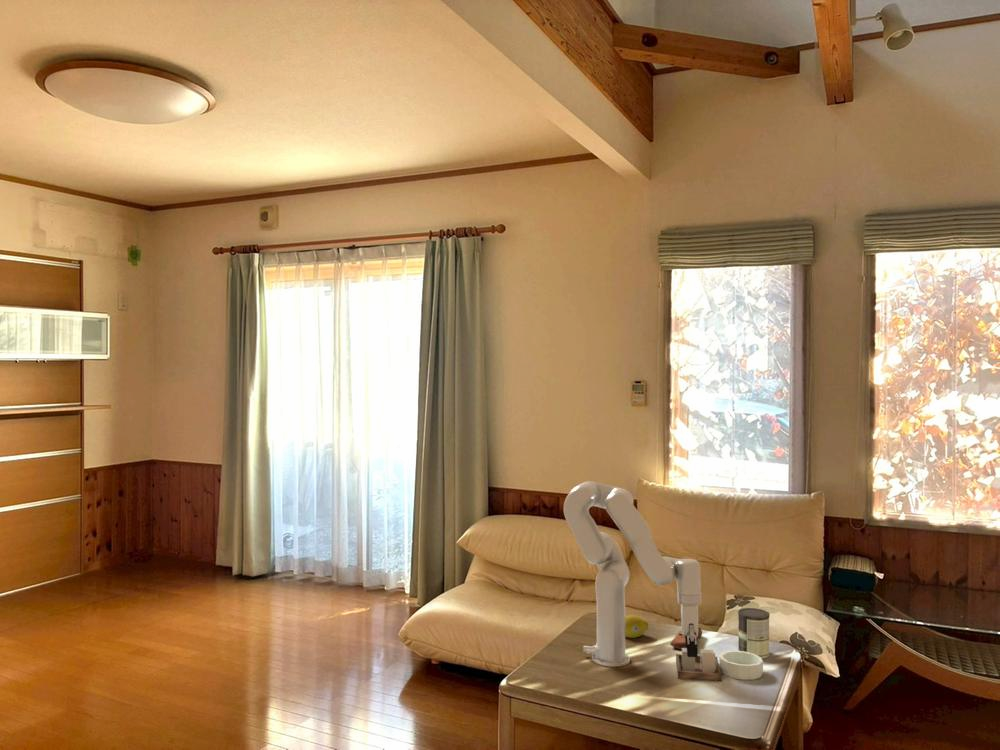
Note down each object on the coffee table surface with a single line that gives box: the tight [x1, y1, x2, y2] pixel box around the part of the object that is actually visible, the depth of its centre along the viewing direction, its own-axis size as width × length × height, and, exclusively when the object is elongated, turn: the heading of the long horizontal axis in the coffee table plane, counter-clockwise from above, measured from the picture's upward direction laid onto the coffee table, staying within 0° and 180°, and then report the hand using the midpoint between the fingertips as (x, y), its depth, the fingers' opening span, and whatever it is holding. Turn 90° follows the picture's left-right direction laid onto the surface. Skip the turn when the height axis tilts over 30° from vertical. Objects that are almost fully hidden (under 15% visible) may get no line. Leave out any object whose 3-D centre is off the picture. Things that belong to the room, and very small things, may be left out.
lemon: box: [625, 614, 649, 639], centre depth 275 cm, size 11×8×8 cm
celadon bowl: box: [718, 650, 764, 681], centre depth 242 cm, size 13×13×4 cm
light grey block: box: [681, 648, 695, 671], centre depth 244 cm, size 4×4×6 cm
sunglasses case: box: [669, 626, 703, 651], centre depth 269 cm, size 18×7×7 cm
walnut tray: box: [675, 653, 723, 683], centre depth 243 cm, size 13×16×2 cm
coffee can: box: [737, 607, 770, 659], centre depth 259 cm, size 10×10×14 cm
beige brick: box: [699, 648, 716, 672], centre depth 243 cm, size 4×4×6 cm
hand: (691, 651), depth 244 cm, fingers open, 9 cm apart
